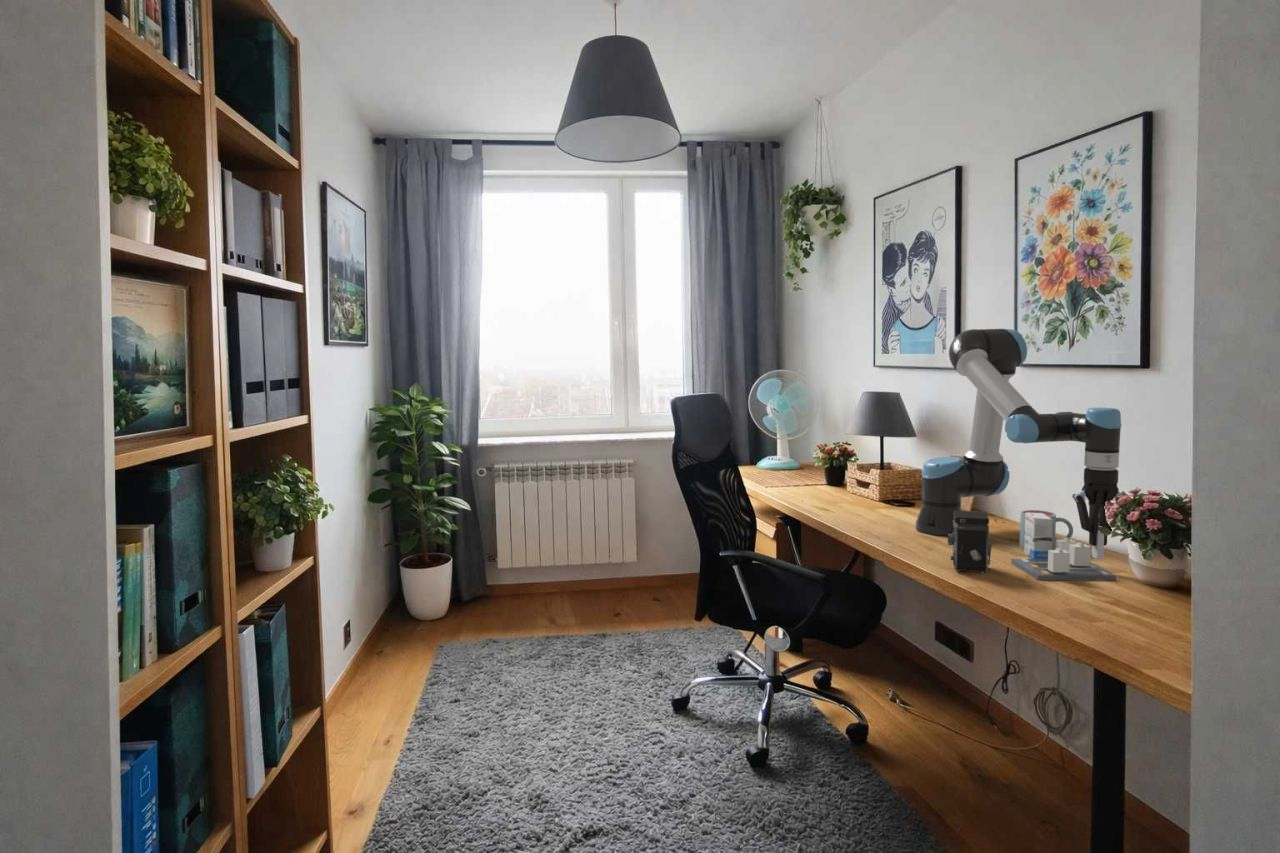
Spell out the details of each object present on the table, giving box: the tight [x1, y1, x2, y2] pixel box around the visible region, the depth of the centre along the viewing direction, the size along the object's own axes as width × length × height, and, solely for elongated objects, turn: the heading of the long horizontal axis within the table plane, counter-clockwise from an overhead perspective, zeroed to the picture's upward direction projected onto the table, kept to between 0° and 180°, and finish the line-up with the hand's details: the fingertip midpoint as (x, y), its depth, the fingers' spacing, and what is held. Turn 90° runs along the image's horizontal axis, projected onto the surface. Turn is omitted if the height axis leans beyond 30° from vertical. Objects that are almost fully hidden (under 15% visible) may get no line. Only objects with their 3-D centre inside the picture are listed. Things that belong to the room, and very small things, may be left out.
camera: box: [947, 510, 992, 574], centre depth 196 cm, size 10×11×15 cm
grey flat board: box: [1010, 558, 1117, 581], centre depth 192 cm, size 15×19×2 cm
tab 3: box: [1069, 541, 1092, 566], centre depth 191 cm, size 3×4×6 cm, turn 86°
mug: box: [1019, 509, 1074, 550], centre depth 215 cm, size 14×9×10 cm
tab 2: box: [1048, 547, 1070, 572], centre depth 187 cm, size 3×4×6 cm, turn 87°
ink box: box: [1023, 513, 1052, 559], centre depth 206 cm, size 9×5×12 cm, turn 168°
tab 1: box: [1054, 536, 1077, 552], centre depth 197 cm, size 3×4×6 cm, turn 87°
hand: (1097, 557), depth 191 cm, fingers closed
